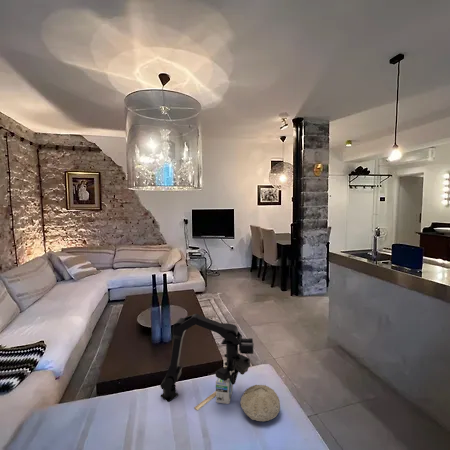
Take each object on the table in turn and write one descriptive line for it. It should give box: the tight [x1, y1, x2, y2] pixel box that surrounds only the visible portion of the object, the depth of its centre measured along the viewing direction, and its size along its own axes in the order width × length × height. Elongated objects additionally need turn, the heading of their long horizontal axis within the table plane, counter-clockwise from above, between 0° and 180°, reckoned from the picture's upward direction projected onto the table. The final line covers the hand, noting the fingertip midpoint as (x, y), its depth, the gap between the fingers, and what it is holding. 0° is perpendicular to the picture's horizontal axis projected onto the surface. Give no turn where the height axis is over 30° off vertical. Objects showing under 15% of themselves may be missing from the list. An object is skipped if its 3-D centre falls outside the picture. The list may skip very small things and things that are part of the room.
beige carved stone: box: [240, 384, 281, 422], centre depth 125 cm, size 18×18×10 cm
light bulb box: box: [215, 377, 234, 405], centre depth 135 cm, size 11×7×11 cm, turn 169°
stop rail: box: [193, 390, 216, 411], centre depth 137 cm, size 2×26×1 cm, turn 139°
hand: (233, 383), depth 131 cm, fingers closed
